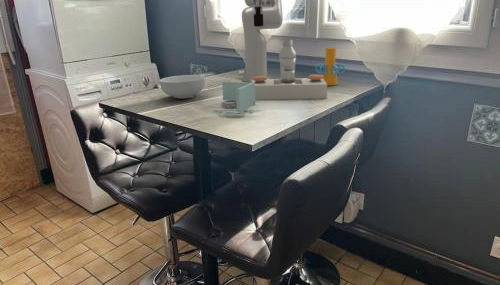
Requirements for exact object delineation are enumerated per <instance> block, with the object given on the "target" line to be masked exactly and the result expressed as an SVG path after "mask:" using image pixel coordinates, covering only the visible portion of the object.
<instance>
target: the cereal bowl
mask: <svg viewBox="0 0 500 285" xmlns="http://www.w3.org/2000/svg"><path fill="white" fill-rule="evenodd" d="M205 83H206V82H205V76H203V75H198V74H197V75H196V74H182V75H174V76H173V75H172V76H167V77H163V78H160V79H159V85H160V89H161V90H162V92H163V93H164V94H165V95H168V96H169V97H170V96H171V97H173V98H175V99H189V98H193V97H194V96H196V94H198V93H200V92H201V91H203V89H204V87H205V85H206V84H205Z"/></svg>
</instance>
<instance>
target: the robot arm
mask: <svg viewBox="0 0 500 285" xmlns="http://www.w3.org/2000/svg"><path fill="white" fill-rule="evenodd" d="M244 3H245V6H246V7H245V8H244V9H243V10H242V12H241V23H242V28H243V36H244V61H245V63H244V64H245V69H244V70H239V71H238V75H239V76H243V77H242V81H243V82H248V83H251V82H252V80H253V77H254V76H267V79H271V76H269V75H268V72H267V71H268V70H267V69H268V66H267V65H268V63H267V39H266V37H265V35H264V34H263V33H262V31H261V30H273V29H280V28H281V27H282V25H283V6H282V4H283V3H282V0H244Z"/></svg>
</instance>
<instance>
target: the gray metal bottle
mask: <svg viewBox="0 0 500 285" xmlns="http://www.w3.org/2000/svg"><path fill="white" fill-rule="evenodd" d="M293 44H294V43H293V39H282V48H281V50H280V51H279V53H278V59H279V68H280V75H279V76H280V78H279V79H280V84H296V82H295V79H296V61H297V52H296V50H295V49H294V47H293Z"/></svg>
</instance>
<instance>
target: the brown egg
mask: <svg viewBox="0 0 500 285" xmlns="http://www.w3.org/2000/svg"><path fill="white" fill-rule="evenodd" d="M308 78H309V79H311V82H320V79H323V75H321V74H309V75H308Z"/></svg>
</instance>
